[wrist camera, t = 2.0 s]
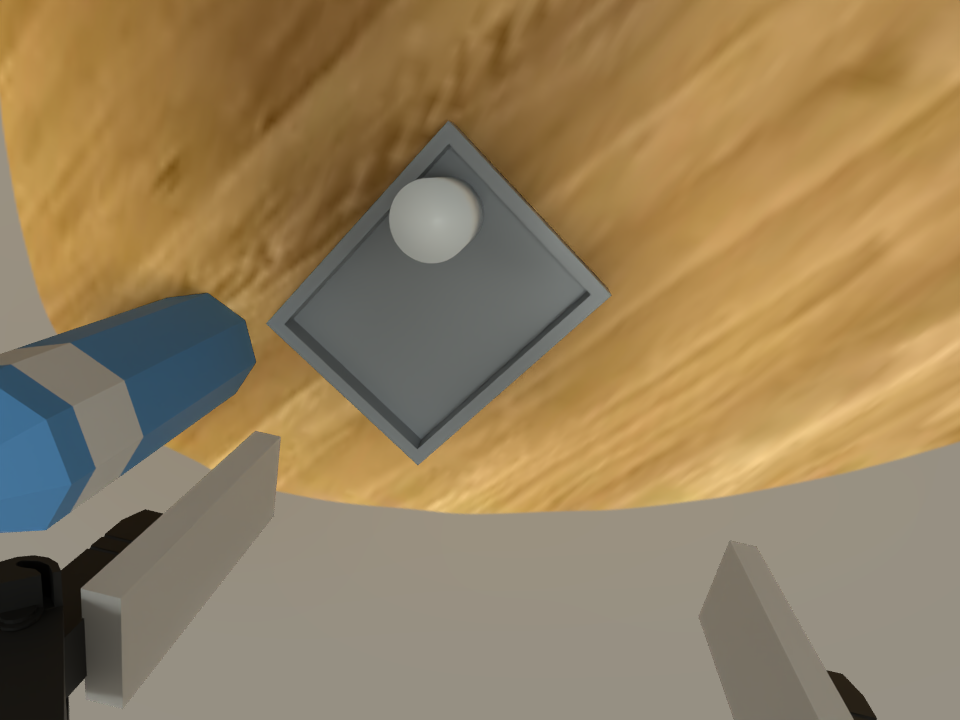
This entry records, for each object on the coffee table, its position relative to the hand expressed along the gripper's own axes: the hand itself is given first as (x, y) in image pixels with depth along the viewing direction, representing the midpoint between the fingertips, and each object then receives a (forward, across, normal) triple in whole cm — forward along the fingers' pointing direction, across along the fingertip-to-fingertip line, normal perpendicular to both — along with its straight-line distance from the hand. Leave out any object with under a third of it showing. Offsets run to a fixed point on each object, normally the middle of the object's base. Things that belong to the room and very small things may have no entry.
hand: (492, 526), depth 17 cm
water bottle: (+29, -25, -9) cm, 39 cm away
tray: (+28, -7, -1) cm, 29 cm away
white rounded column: (+28, -7, +6) cm, 29 cm away
